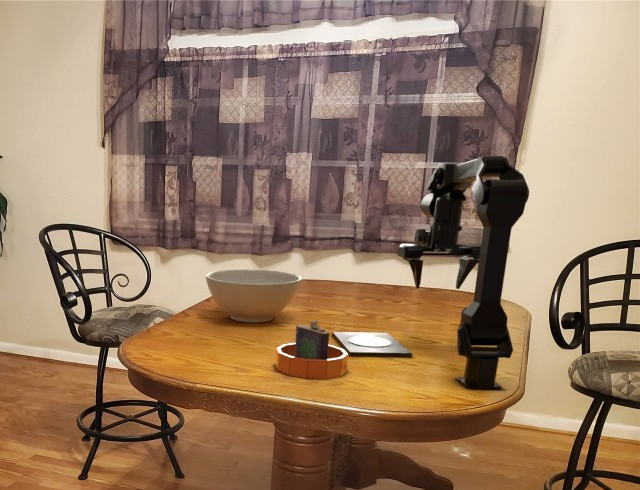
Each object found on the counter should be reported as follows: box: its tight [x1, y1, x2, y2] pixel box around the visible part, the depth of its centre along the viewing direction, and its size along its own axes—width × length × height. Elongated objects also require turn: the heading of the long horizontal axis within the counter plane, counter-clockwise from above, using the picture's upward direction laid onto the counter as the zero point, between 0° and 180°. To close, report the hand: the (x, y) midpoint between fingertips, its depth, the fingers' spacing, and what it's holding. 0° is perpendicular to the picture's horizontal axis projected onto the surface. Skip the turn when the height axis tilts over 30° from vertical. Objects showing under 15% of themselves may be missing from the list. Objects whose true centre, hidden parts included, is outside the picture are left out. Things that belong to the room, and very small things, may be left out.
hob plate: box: [331, 331, 413, 358], centre depth 168 cm, size 20×14×1 cm
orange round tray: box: [274, 342, 349, 380], centre depth 149 cm, size 15×15×4 cm
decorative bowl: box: [205, 268, 303, 323], centre depth 197 cm, size 27×27×12 cm
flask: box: [294, 320, 330, 359], centre depth 148 cm, size 9×3×11 cm, turn 28°
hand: (437, 288), depth 161 cm, fingers open, 9 cm apart
